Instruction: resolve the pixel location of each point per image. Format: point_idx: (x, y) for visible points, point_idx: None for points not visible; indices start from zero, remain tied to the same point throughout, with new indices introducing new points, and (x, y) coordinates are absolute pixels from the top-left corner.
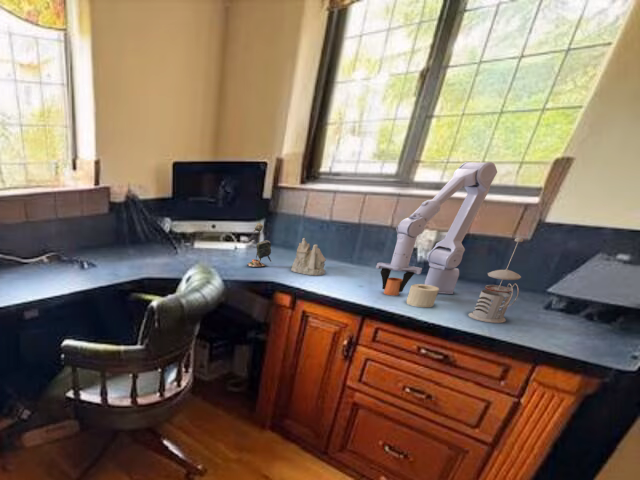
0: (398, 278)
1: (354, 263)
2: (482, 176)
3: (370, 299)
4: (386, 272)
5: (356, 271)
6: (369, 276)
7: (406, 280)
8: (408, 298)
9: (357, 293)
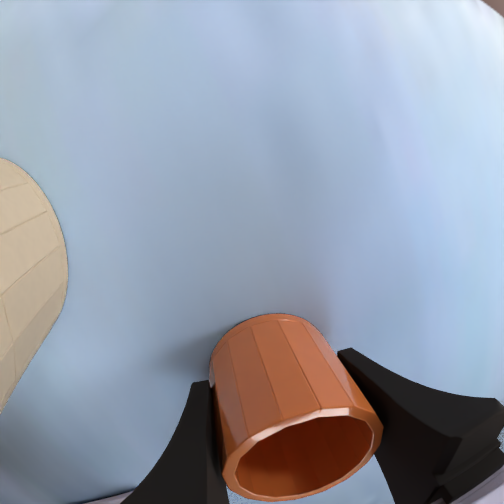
0: (293, 495)
1: None
2: None
3: (328, 54)
4: (459, 435)
5: None
6: None
7: (159, 471)
8: (12, 188)
9: (455, 167)
